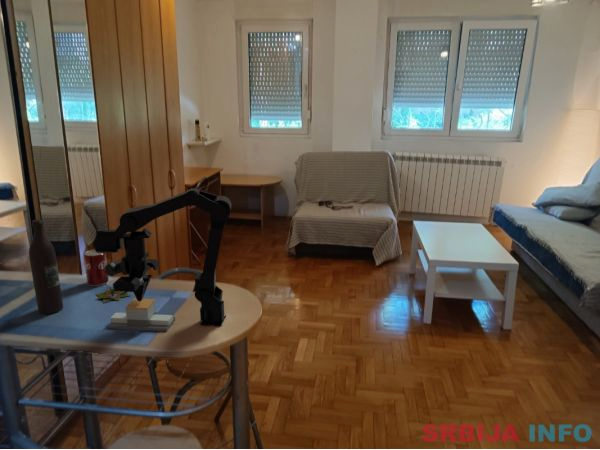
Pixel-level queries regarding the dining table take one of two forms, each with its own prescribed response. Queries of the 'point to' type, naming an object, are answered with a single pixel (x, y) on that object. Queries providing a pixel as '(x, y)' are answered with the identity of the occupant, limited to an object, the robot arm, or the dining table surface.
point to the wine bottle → (44, 271)
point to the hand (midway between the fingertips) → (140, 300)
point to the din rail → (155, 325)
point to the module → (140, 312)
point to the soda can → (95, 268)
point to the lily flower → (111, 292)
